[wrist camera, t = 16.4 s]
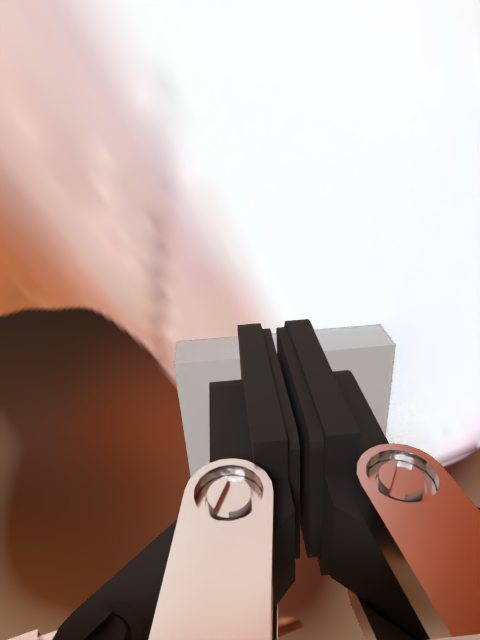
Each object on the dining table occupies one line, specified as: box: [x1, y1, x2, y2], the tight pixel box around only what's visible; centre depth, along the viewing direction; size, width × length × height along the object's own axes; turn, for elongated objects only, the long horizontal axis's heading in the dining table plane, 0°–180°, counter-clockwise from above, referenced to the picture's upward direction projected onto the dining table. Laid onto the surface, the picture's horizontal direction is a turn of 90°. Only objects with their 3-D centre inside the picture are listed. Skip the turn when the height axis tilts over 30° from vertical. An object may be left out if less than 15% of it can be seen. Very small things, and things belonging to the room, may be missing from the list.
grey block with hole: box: [174, 324, 396, 477], centre depth 45 cm, size 20×14×4 cm
